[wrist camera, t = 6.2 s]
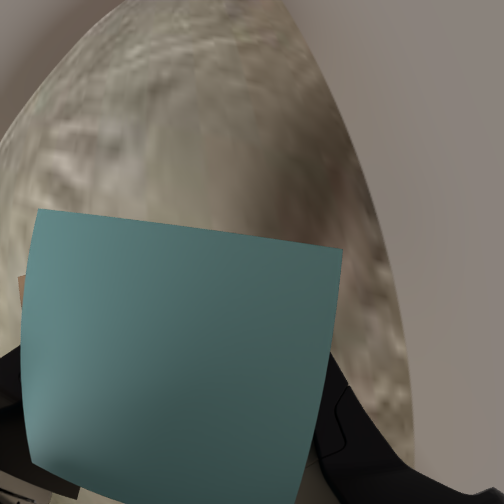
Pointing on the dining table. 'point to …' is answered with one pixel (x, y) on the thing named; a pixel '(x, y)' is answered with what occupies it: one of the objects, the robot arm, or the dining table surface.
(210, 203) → the dining table surface
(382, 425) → the dining table surface
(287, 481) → the tall block
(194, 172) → the dining table surface
